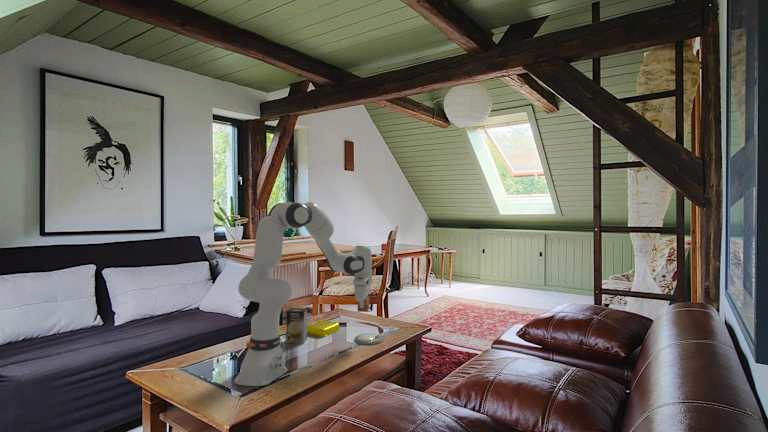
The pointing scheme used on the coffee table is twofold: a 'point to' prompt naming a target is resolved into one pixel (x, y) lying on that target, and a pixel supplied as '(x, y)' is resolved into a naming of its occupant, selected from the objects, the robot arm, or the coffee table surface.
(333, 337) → the coffee table surface
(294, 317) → the coffee box
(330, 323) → the element tile
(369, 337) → the dish
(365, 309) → the block
